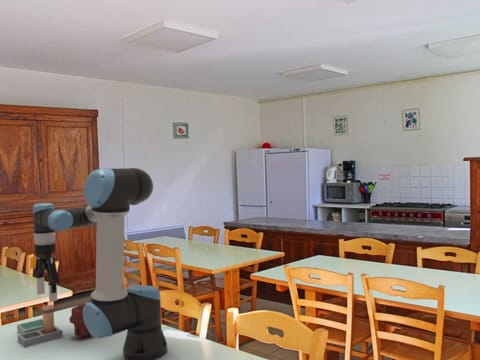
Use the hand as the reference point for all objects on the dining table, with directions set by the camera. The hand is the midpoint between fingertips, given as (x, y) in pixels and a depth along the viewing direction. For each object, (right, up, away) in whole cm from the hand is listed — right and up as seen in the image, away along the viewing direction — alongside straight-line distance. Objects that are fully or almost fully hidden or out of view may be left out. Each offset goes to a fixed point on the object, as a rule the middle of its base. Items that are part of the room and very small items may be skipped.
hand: (47, 297), depth 176 cm
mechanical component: (+15, -15, -1) cm, 21 cm away
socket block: (-2, -16, -2) cm, 16 cm away
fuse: (+1, -16, 0) cm, 16 cm away
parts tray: (-8, -16, +6) cm, 19 cm away
